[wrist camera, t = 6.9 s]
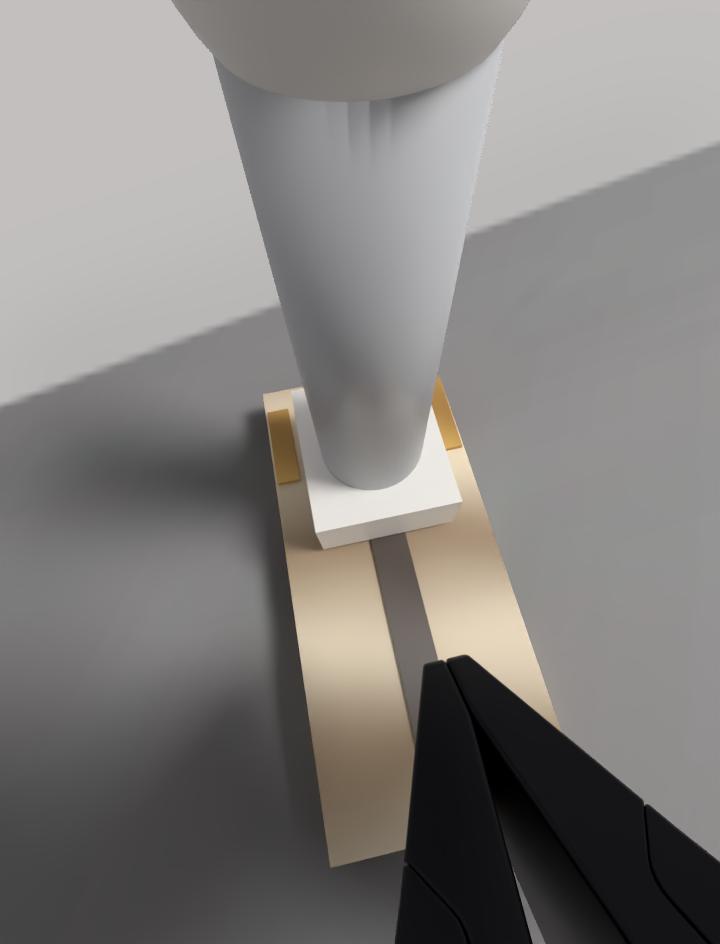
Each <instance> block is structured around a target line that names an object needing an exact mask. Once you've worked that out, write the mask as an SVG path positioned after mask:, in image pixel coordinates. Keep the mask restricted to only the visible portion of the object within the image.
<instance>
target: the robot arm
mask: <svg viewBox="0 0 720 944" xmlns="http://www.w3.org/2000/svg"><path fill="white" fill-rule="evenodd" d="M404 862H405V866H404V867H403V875H402V886H401V896H400V905H399V913H398V921H397V929H396V937H395V944H533V943H532V939H531V936H530V932H529V928H528V925H527V921H526V917H525V913H524V910H523V906H522V902H521V899H520V895H519V891H518V888H517V884H516V880H515V876H514V873H513V869H514V872H515V874H516V876H517V879H518V881H519V883H520V886H521V888H522V890H523V892H524V895H525V897H526V899H527V902H528V904H529V906H530V909H531V911H532V913H533V915H534V918H535V920H536V922H537V925H538V927H539V929H540V932H541V934H542V936H543V938H544V941H545V943H546V944H720V862H719V861H718V860H717V859H716V858H714V857H713V856H712V855H711V854H709V853H708V852H707V851H706V850H704V849H703V848H702V847H700V846H699V845H698V844H697V843H695V842H694V841H693V840H692V839H690V838H689V837H688V836H687V835H685V834H684V833H683V832H682V831H680V830H679V829H678V828H677V827H675V826H674V825H673V824H672V823H671V822H669V821H668V820H667V819H666V818H665V817H663V816H662V815H661V814H660V813H659V812H657V811H656V810H655V809H654V808H653V807H651V806H650V805H648V804H646V805H645V806H644V801H643V800H642V799H641V798H640V797H639V796H638V795H637V794H635V793H634V792H633V791H632V790H631V789H629V788H628V787H627V786H626V785H625V784H623V783H622V782H621V781H620V780H619V779H617V778H616V777H615V776H614V775H613V774H611V773H610V772H609V771H608V770H606V769H605V768H604V767H603V766H602V765H600V764H599V763H598V762H597V761H596V760H594V759H593V758H592V757H591V756H590V755H588V754H587V753H586V752H585V751H584V750H582V749H581V748H580V747H579V746H578V745H576V744H575V743H574V742H573V741H571V740H570V739H569V738H568V737H567V736H565V735H564V734H563V733H562V732H561V731H559V730H558V729H557V728H556V727H555V726H553V725H552V724H551V723H550V722H549V721H547V720H546V719H545V718H544V717H543V716H541V715H540V714H539V713H538V712H537V711H535V710H534V709H533V708H532V707H530V706H529V705H528V704H527V703H526V702H524V701H523V700H522V699H521V698H520V697H518V696H517V695H516V694H515V693H514V692H512V691H511V690H510V689H509V688H508V687H506V686H505V685H504V684H503V683H502V682H500V681H499V680H498V679H497V678H496V677H494V676H493V675H492V674H491V673H489V672H488V671H487V670H486V669H485V668H483V667H482V666H481V665H480V664H479V663H477V662H476V661H475V660H474V659H473V658H471V657H470V656H469V655H466V654H464V655H459V656H455V657H451V658H448V659H447V660H446V662H445V661H444V660H438V661H433V662H429V663H425V664H424V665H423V669H422V679H421V690H420V700H419V711H418V722H417V732H416V743H415V753H414V764H413V774H412V785H411V795H410V806H409V816H408V827H407V837H406V847H405V858H404ZM512 867H513V869H512Z"/></svg>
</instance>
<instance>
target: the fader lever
mask: <svg viewBox="0 0 720 944" xmlns="http://www.w3.org/2000/svg"><path fill="white" fill-rule="evenodd" d="M172 2H173V3H174V5H175V7H176V8H177V9H178V11H179V12H180V13H181V15H182V16H183V18H184V19H185V21H186V22H187V23H188V25H189V26H190V27H191V29H192V30H193V31H194V33H195V34H196V36H197V37H198V38H199V39H200V40H201V41H202V43H203V44H204V45H205V46H206V47H207V48H208V49H209V50H210V52H211V53H212V54H213V56H214V60H215V64H216V68H217V71H218V75H219V79H220V83H221V86H222V90H223V94H224V97H225V101H226V105H227V108H228V111H229V115H230V119H231V123H232V127H233V130H234V134H235V138H236V141H237V145H238V149H239V152H240V156H241V160H242V163H243V167H244V171H245V174H246V178H247V182H248V185H249V189H250V193H251V197H252V200H253V204H254V207H255V211H256V215H257V219H258V222H259V226H260V230H261V233H262V237H263V241H264V244H265V248H266V252H267V255H268V259H269V263H270V266H271V270H272V274H273V277H274V281H275V285H276V288H277V292H278V296H279V300H280V303H281V307H282V311H283V314H284V318H285V322H286V325H287V329H288V333H289V336H290V340H291V344H292V347H293V351H294V355H295V358H296V362H297V366H298V369H299V373H300V377H301V380H302V384H303V389H298V390H293V391H291V394H292V400H293V406H294V412H295V418H296V423H297V429H298V435H299V441H300V446H301V452H302V458H303V464H304V469H305V475H306V481H307V487H308V492H309V498H310V504H311V510H312V515H313V521H314V527H315V533H316V535H317V537H318V539H319V541H320V543H321V545H322V547H323V549H328V548H332V547H337V546H342V545H346V544H351V543H356V542H360V541H365V540H370V539H374V538H379V537H384V536H388V535H393V534H398V533H402V532H407V531H411V530H416V529H421V528H425V527H430V526H435V525H439V524H444V523H449V522H452V521H453V519H454V517H455V515H456V514H457V512H458V510H459V508H460V506H461V504H462V502H463V501H462V498H461V495H460V492H459V489H458V486H457V483H456V480H455V476H454V473H453V470H452V467H451V464H450V461H449V458H448V455H447V452H446V449H445V445H444V442H443V439H442V436H441V433H440V430H439V427H438V424H437V421H436V417H435V414H434V411H433V408H432V405H431V403H432V398H433V394H434V389H435V384H436V379H437V374H438V369H439V364H440V359H441V354H442V349H443V344H444V339H445V334H446V329H447V324H448V319H449V314H450V309H451V304H452V299H453V294H454V289H455V284H456V279H457V274H458V269H459V265H460V260H461V255H462V250H463V245H464V240H465V235H466V230H467V225H468V220H469V215H470V210H471V205H472V200H473V195H474V190H475V185H476V180H477V175H478V170H479V165H480V160H481V155H482V150H483V145H484V140H485V136H486V131H487V126H488V121H489V116H490V111H491V106H492V101H493V96H494V91H495V86H496V81H497V75H498V70H499V66H500V61H501V56H502V51H503V46H504V41H505V36H506V35H507V33H508V32H509V31H510V30H511V28H512V27H513V26H514V24H515V23H516V22H517V20H518V19H519V18H520V16H521V15H522V13H523V11H524V10H525V8H526V6H527V5H528V3H529V2H530V0H172Z"/></svg>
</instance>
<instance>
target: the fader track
mask: <svg viewBox="0 0 720 944" xmlns="http://www.w3.org/2000/svg"><path fill="white" fill-rule="evenodd" d="M298 389H303V387H298V388H293V389H288V390H283V391H278V392H273V393H268V394H263V399H264V406H265V413H266V420H267V427H268V434H269V441H270V448H271V455H272V462H273V469H274V476H275V483H276V490H277V497H278V504H279V511H280V518H281V525H282V532H283V539H284V546H285V553H286V560H287V567H288V574H289V581H290V588H291V595H292V602H293V609H294V616H295V623H296V630H297V637H298V644H299V651H300V658H301V665H302V672H303V679H304V686H305V694H306V701H307V708H308V715H309V722H310V729H311V736H312V743H313V750H314V757H315V764H316V771H317V778H318V785H319V792H320V799H321V806H322V813H323V820H324V827H325V834H326V841H327V848H328V855H329V862H330V868H333V867H337V866H341V865H345V864H349V863H353V862H357V861H361V860H365V859H369V858H373V857H377V856H381V855H385V854H389V853H393V852H397V851H401V850H405V847H406V837H407V827H408V816H409V806H410V795H411V785H412V774H413V764H414V753H415V743H416V732H417V722H418V711H419V700H420V690H421V679H422V669H423V665H424V664H425V663H429V662H433V661H438V660H444V661H445V662H446V660H447V659H448V658H451V657H455V656H459V655H464V654H466V655H469V656H470V657H471V658H473V659H474V660H475V661H476V662H477V663H479V664H480V665H481V666H482V667H483V668H485V669H486V670H487V671H488V672H489V673H491V674H492V675H493V676H494V677H496V678H497V679H498V680H499V681H500V682H502V683H503V684H504V685H505V686H506V687H508V688H509V689H510V690H511V691H512V692H514V693H515V694H516V695H517V696H518V697H520V698H521V699H522V700H523V701H524V702H526V703H527V704H528V705H529V706H530V707H532V708H533V709H534V710H535V711H537V712H538V713H539V714H540V715H541V716H543V717H544V718H545V719H546V720H547V721H549V722H550V723H551V724H552V725H553V726H555V727H556V728H557V729H558V730H559V731H561V730H560V727H559V724H558V721H557V718H556V715H555V712H554V709H553V706H552V703H551V700H550V697H549V694H548V692H547V689H546V686H545V683H544V680H543V677H542V674H541V671H540V668H539V665H538V662H537V659H536V656H535V653H534V651H533V648H532V645H531V642H530V639H529V636H528V633H527V630H526V627H525V624H524V621H523V618H522V615H521V613H520V610H519V607H518V604H517V601H516V598H515V595H514V592H513V589H512V586H511V583H510V580H509V577H508V574H507V572H506V569H505V566H504V563H503V560H502V557H501V554H500V551H499V548H498V545H497V542H496V539H495V536H494V534H493V531H492V528H491V525H490V522H489V519H488V516H487V513H486V510H485V507H484V504H483V501H482V498H481V495H480V493H479V490H478V487H477V484H476V481H475V478H474V475H473V472H472V469H471V466H470V463H469V460H468V457H467V455H466V452H465V449H464V446H463V443H462V440H461V437H460V434H459V431H458V428H457V425H456V422H455V419H454V416H453V414H452V411H451V408H450V405H449V402H448V399H447V396H446V393H445V390H444V387H443V384H442V381H441V378H440V376H439V373H438V374H437V379H436V384H435V389H434V394H433V398H432V403H431V405H432V408H433V411H434V414H435V417H436V421H437V424H438V427H439V430H440V433H441V436H442V439H443V442H444V445H445V449H446V452H447V455H448V458H449V461H450V464H451V467H452V470H453V473H454V476H455V480H456V483H457V486H458V489H459V492H460V495H461V498H462V501H463V502H462V504H461V506H460V508H459V510H458V512H457V514H456V515H455V517H454V519H453V521H452V522H449V523H444V524H439V525H435V526H430V527H425V528H421V529H416V530H411V531H407V532H402V533H398V534H393V535H388V536H384V537H379V538H374V539H370V540H365V541H360V542H356V543H351V544H346V545H342V546H337V547H332V548H328V549H323V547H322V545H321V543H320V541H319V539H318V537H317V535H316V533H315V527H314V521H313V515H312V510H311V504H310V498H309V492H308V487H307V481H306V475H305V469H304V464H303V458H302V452H301V446H300V441H299V435H298V429H297V423H296V418H295V412H294V406H293V400H292V394H291V391H293V390H298Z"/></svg>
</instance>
